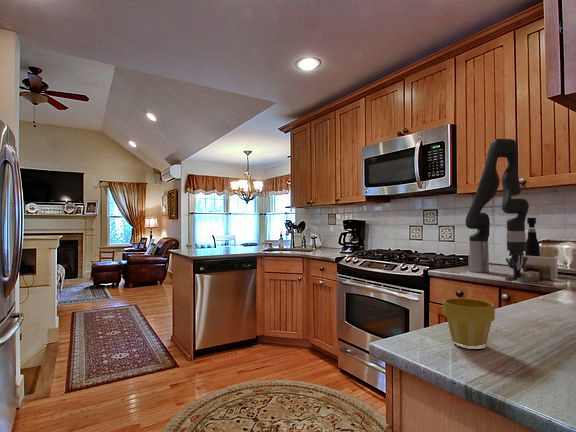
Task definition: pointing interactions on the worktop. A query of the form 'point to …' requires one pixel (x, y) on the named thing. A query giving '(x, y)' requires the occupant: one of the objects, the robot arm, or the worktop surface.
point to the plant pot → (469, 320)
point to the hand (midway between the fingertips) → (517, 277)
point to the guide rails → (523, 279)
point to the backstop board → (545, 261)
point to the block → (539, 270)
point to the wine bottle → (532, 240)
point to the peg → (529, 274)
